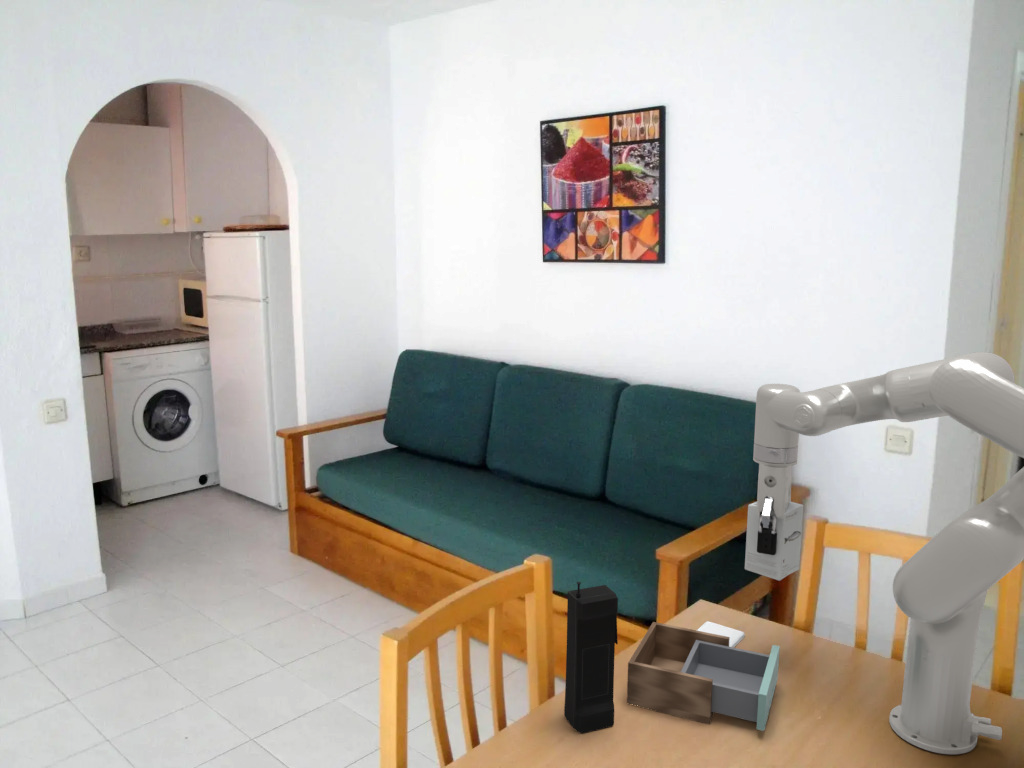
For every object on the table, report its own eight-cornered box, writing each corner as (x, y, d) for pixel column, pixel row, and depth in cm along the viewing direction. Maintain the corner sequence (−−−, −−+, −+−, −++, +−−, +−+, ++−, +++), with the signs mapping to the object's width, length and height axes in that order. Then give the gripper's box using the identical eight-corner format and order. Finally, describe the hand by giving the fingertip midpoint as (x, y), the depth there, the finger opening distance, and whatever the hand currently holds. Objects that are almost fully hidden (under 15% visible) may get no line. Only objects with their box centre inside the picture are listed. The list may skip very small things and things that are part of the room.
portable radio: (604, 705, 139) (607, 566, 134) (621, 724, 133) (625, 581, 129) (561, 714, 136) (564, 573, 131) (577, 735, 130) (580, 588, 126)
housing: (727, 675, 148) (729, 637, 146) (709, 724, 133) (711, 681, 132) (651, 659, 154) (653, 621, 152) (626, 703, 139) (628, 662, 138)
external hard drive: (744, 639, 162) (718, 665, 153) (705, 627, 167) (678, 651, 157) (744, 632, 162) (719, 657, 152) (706, 620, 167) (679, 644, 157)
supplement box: (780, 581, 144) (784, 513, 142) (743, 569, 150) (746, 503, 147) (801, 570, 149) (805, 504, 147) (764, 558, 155) (767, 494, 152)
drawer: (777, 678, 144) (779, 646, 143) (764, 731, 129) (766, 695, 128) (696, 661, 150) (698, 629, 149) (674, 709, 135) (676, 674, 134)
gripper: (791, 468, 137) (785, 564, 140) (802, 444, 152) (796, 532, 155) (745, 462, 140) (740, 557, 143) (761, 440, 155) (756, 526, 158)
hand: (770, 544), depth 149 cm, fingers closed on supplement box, 9 cm apart
